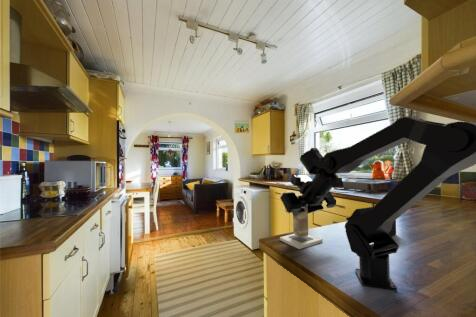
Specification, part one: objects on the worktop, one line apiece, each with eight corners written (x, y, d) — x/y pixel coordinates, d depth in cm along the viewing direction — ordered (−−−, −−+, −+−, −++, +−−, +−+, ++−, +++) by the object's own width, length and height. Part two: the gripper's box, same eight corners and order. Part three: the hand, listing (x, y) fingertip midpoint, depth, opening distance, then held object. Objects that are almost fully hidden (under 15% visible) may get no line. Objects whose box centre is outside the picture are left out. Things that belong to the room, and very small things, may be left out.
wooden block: (308, 235, 69) (307, 200, 70) (299, 237, 68) (299, 200, 68) (301, 232, 72) (300, 198, 73) (293, 233, 71) (292, 199, 72)
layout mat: (302, 234, 77) (302, 231, 77) (322, 242, 69) (322, 238, 69) (279, 240, 71) (279, 236, 71) (299, 249, 64) (299, 245, 64)
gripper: (328, 166, 71) (307, 194, 81) (282, 167, 64) (266, 197, 74) (349, 191, 63) (323, 219, 73) (300, 196, 56) (278, 225, 66)
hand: (297, 214), depth 72 cm, fingers closed on wooden block, 3 cm apart
